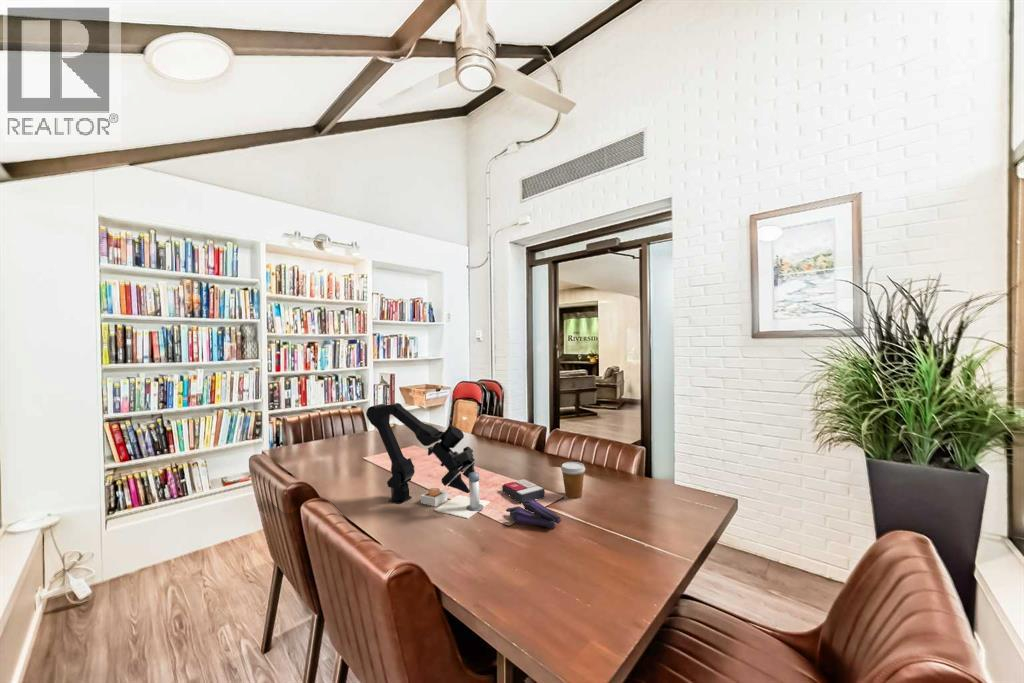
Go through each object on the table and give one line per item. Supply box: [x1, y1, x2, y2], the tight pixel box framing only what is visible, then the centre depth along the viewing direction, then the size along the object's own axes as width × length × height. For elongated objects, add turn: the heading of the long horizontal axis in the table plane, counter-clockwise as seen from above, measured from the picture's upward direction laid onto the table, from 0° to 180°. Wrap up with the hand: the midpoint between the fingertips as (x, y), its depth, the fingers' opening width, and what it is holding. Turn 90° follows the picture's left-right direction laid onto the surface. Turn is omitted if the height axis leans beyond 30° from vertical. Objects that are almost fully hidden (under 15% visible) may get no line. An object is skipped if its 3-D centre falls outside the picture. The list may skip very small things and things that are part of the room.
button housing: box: [420, 490, 448, 508], centre depth 157 cm, size 7×7×3 cm
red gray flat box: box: [501, 478, 546, 504], centre depth 162 cm, size 11×4×15 cm
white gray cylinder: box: [468, 471, 481, 509], centre depth 150 cm, size 4×4×12 cm
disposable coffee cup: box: [560, 461, 586, 500], centre depth 159 cm, size 10×10×12 cm
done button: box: [427, 487, 441, 497], centre depth 157 cm, size 4×4×2 cm
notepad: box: [434, 494, 491, 519], centre depth 152 cm, size 16×15×1 cm
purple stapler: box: [505, 499, 562, 530], centre depth 138 cm, size 7×12×20 cm
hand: (473, 487), depth 150 cm, fingers open, 9 cm apart
